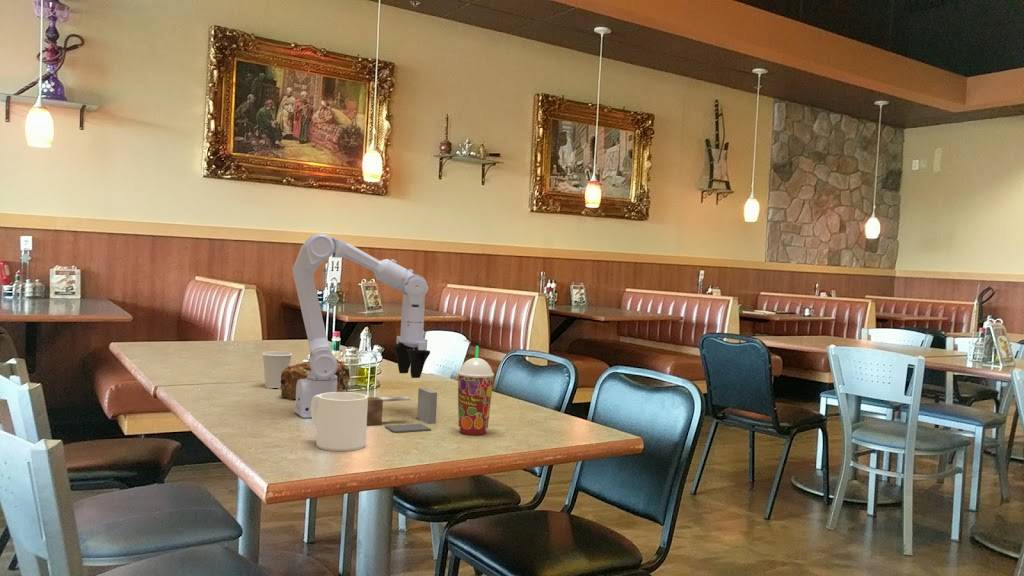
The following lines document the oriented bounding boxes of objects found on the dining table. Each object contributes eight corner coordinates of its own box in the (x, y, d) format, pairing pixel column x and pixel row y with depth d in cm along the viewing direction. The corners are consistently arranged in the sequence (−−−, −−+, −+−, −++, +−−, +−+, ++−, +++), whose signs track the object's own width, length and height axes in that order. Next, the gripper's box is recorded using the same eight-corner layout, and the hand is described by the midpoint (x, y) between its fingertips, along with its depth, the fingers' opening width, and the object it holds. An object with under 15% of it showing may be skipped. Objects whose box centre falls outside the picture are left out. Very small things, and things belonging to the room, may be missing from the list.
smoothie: (448, 433, 177) (453, 345, 176) (463, 426, 184) (467, 343, 184) (482, 438, 174) (487, 349, 173) (496, 431, 182) (500, 346, 181)
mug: (375, 444, 163) (377, 395, 163) (347, 454, 154) (349, 402, 153) (325, 436, 168) (327, 389, 167) (295, 445, 159) (297, 395, 158)
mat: (394, 433, 174) (394, 431, 174) (384, 427, 179) (384, 425, 179) (431, 430, 179) (431, 428, 179) (420, 425, 184) (420, 423, 184)
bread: (320, 390, 226) (321, 355, 225) (351, 394, 221) (352, 359, 221) (277, 399, 208) (279, 362, 208) (310, 403, 204) (311, 365, 204)
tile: (428, 423, 186) (430, 392, 186) (417, 418, 192) (418, 388, 192) (436, 423, 187) (437, 392, 187) (424, 417, 193) (425, 387, 193)
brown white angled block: (366, 426, 180) (368, 400, 180) (361, 423, 183) (362, 397, 183) (410, 423, 185) (411, 398, 185) (404, 420, 189) (405, 395, 188)
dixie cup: (254, 386, 225) (256, 352, 224) (280, 384, 231) (281, 350, 231) (271, 390, 219) (272, 355, 219) (296, 388, 226) (298, 353, 225)
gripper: (439, 324, 192) (436, 379, 193) (415, 319, 205) (412, 370, 205) (413, 324, 189) (409, 380, 189) (390, 319, 201) (387, 371, 201)
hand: (409, 375), depth 197 cm, fingers open, 7 cm apart
